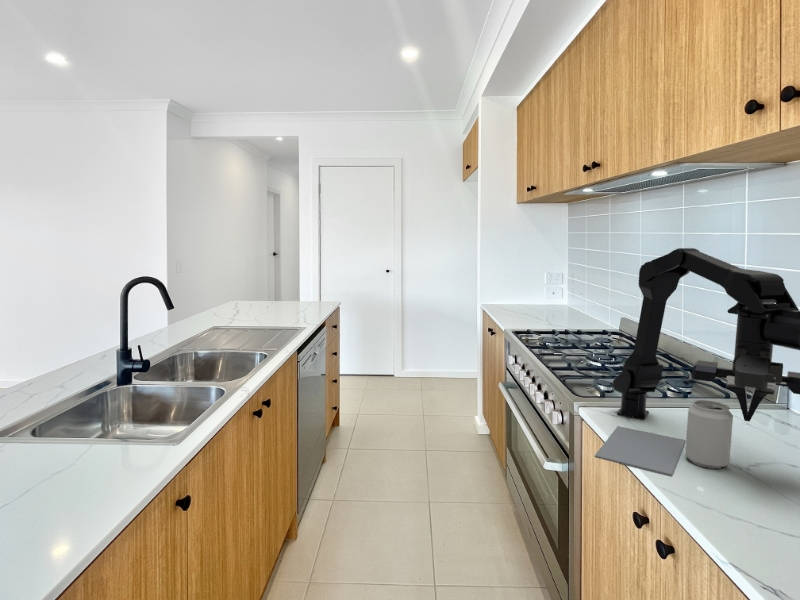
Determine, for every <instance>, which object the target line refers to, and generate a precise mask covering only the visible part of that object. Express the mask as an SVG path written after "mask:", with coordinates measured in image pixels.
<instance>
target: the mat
mask: <svg viewBox="0 0 800 600" xmlns="http://www.w3.org/2000/svg"><path fill="white" fill-rule="evenodd" d="M685 445H686V439H682V438H677V437H673V436H668V435H663V434H658V433H654V432H648V431H643V430H639V429H633V428H628V427H624V426H619V425H617V427H616V428H615V429H614V430H613V432H612V433H611V434H610V436H608V438H607V439H606V440H605V441H604V443H603V444H602V445H601V447H600V448H599V450H598V451H596V453H595V455H594V458H596V459H600V460H603V461H604V460H605V461H609V462H612V463H617V464H620V465H626V466H628V467H632V468H637V469H641V470H645V471H648V472H652V473H657V474H661V475H664V476H669V477H673V475H674V473H675V469H676V467H677V464H678V462H679V459H680V456H681V454H682V451H683V449H684V446H685Z"/></svg>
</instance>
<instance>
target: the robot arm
mask: <svg viewBox="0 0 800 600" xmlns="http://www.w3.org/2000/svg"><path fill="white" fill-rule="evenodd" d="M690 272H691V273H693V274H694V275H697V276H699V277H701V278H703V279H706V280H708V281H710V282H712V283H715V284H716V285H719V286H720V287H722V288H723V289H724V290H725V292H726V295H728V296H729V297H730V298H732V299H733V300H734V301H736V304H734V305H733V306H732V307H730V308H729V309H727V313H728V314H732V315H736V316H737V317H736V330H735V343H734V353H733V354H734V356H733V357H734V358H733V360H732V368H725V367H719V362H717V361H716V362H714V361H706V360H698V359H697V361H696V362H694V364H693V366H692V370H691V379H693V380H696V381H702V382H703V381H704V382H711V381H712V382H713V380H715V379H716V378H722V379H726V389H731V390H732V391H733V392H734V394H735V396H736V398H737V400H738V403H739V406H740V410H741V413H742V414H741V415H742V416H743V417H742V418H743V420H744V421H745V422H751V420H752V418H753V416H754V415H755V412H756V410H757V409H758V406H759V405H760V403H761V402H762V400H764V399H765V398H766V397H767V395H771V396H773V395H775V393H776V391H775V388H777V387H776V386H779V387H786V388H787V389H788V390H789V391H790V392H791V393H792V394H795V395H800V372H797V371H796V372H795V371H787V375H783V371H784V363H782V362H774V361H773V360H772V359H773V350H774V346H778V347H781V348H785V349H786V348H787V349H792V350H796V351H800V310H799V307H798V306H797V304H796V302H795V301H794V299H793V298H792V296H791V295H790V293H789V291H788V289H787V287H786V285H785V283H784V278H782V277H781V275H779V274H777V273H774V272H768V271H761V270H755V269H754V270H753V269H746V268H740V267H738V266H737V265H733V264H732V263H728V262H726V261H723V260H721V259H720V258H716V257H714V256H711V255H709V254H706V253H705V252H702V251H700V250H699V249H697V248H693V247H685V248H684V247H683V248H682V247H679V248H675V249H674V250H672V251H670V252H669V253H667V254H664V255H662V256H659V257H657V258H655V259H654V258H653V259H652V260H651V261H646V262H644V264H642V265H640V268H639V272H638V288H639V290H640V293H641V294H642V303H641V308H640V309H641V310H640V315H639V320H638V326H637V331H636V337H635V342H634V348H633V351H632V353H631V354H630V356H629V357H628V358H626V359H625V361H624V364H623V367H622V370H621V372H620V373H619V375H618V376H616V378H614V380H612V385H613V389H614V390H615V391H617V392H619V393H621V397H620V398H621V399H620V408H619V410H617V411H616V415H617V416H621V417H622V416H623V417H627V418H632V419H638V420H643V421H644V420H646V418H647V417H648V415H649V413H650V411H649V410H647V408H646V407H647V394H648V393H655V392H656V389H657V388H658V385H659V384H660V382H661V381H663V379H662V374H663V372H664V369H665V368H664V365H663V364H660V362H659V360H658V358H657V352H658V351H657V350H658V347H659V341H660V338H661V337H660V336H661V330H662V326H663V320H664V317H665V316H664V315H665V311H666V305H667V301H668V299H669V298H670V297H671V296H672V294H673V293H675V291H677V288H678V285H679V283H680V279H682V278H683V277H685V276H686V275H689V273H690ZM747 388H753V390H752V394H751V398H750V401H749V406H748V393H747Z"/></svg>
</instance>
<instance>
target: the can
mask: <svg viewBox="0 0 800 600" xmlns="http://www.w3.org/2000/svg"><path fill="white" fill-rule="evenodd" d="M691 404H692V405H691V406H690V407H688V410H687V423H686V424H687V425H686V428H687V429H686V438H685V453H684V454H685V456H686V457H687V458H688V459H689V461H690V462H691V463H693V464H695V465H696V466H699V467H702V468H703V467H704V468H706V467H708V469H714V468H718V469H722V468H721V467H723V468H724V467H726V466H728V465H729V464H730V460H731V459H730V458H731V447H732V433H733V423H734V420H733V418H734V416H733V415H734V414H732V413H731V411H730V410H731V409H730V407H729V405H727V404H724V403H721V402H719V401H715V400H707V399H699V400H697V399H696V400H694V401H692V403H691Z"/></svg>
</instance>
